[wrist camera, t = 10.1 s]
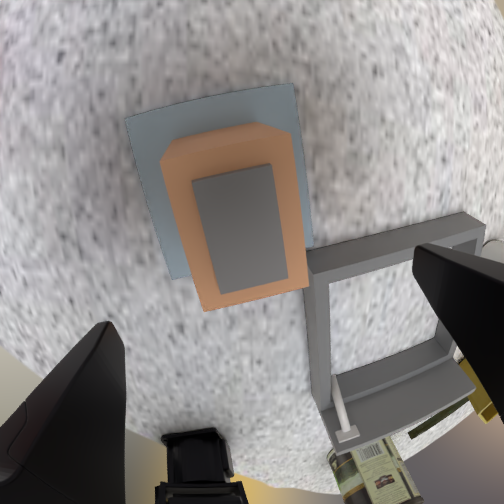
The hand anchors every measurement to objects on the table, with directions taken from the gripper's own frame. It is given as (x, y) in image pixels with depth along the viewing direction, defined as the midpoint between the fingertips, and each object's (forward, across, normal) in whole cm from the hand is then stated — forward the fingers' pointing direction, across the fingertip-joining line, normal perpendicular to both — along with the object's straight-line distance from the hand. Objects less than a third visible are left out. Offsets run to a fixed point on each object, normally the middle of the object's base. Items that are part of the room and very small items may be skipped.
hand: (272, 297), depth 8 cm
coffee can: (+12, -11, +42) cm, 45 cm away
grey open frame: (+12, -12, +14) cm, 22 cm away
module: (+12, 0, 0) cm, 12 cm away
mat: (+12, 0, 0) cm, 12 cm away
